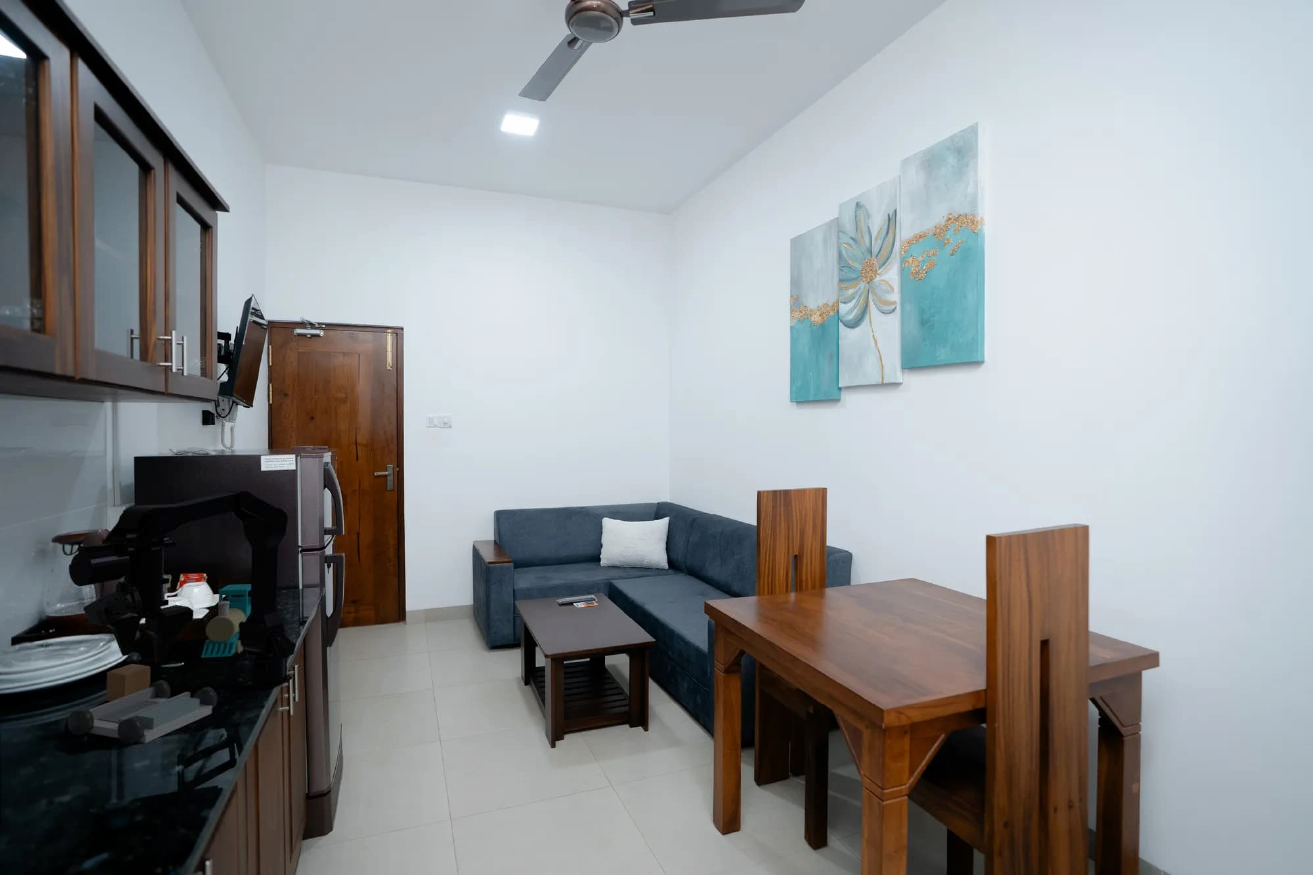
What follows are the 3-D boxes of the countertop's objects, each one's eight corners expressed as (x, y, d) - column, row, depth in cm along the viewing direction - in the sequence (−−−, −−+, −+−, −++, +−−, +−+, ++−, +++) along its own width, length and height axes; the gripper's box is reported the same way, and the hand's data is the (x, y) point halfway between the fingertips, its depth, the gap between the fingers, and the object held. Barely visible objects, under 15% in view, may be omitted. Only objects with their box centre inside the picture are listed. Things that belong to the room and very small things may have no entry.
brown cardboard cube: (131, 691, 137) (132, 663, 137) (149, 694, 136) (150, 666, 136) (106, 700, 132) (107, 671, 132) (124, 703, 131) (125, 674, 131)
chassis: (152, 700, 133) (153, 678, 133) (218, 710, 129) (218, 688, 129) (66, 733, 118) (66, 709, 118) (137, 746, 113) (138, 721, 113)
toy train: (197, 661, 156) (198, 600, 156) (223, 640, 172) (225, 584, 172) (234, 659, 158) (235, 599, 158) (256, 638, 174) (258, 583, 174)
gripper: (59, 578, 113) (57, 666, 113) (128, 589, 107) (127, 682, 107) (129, 566, 124) (127, 647, 124) (196, 575, 117) (194, 660, 117)
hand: (142, 658), depth 118 cm, fingers open, 9 cm apart
